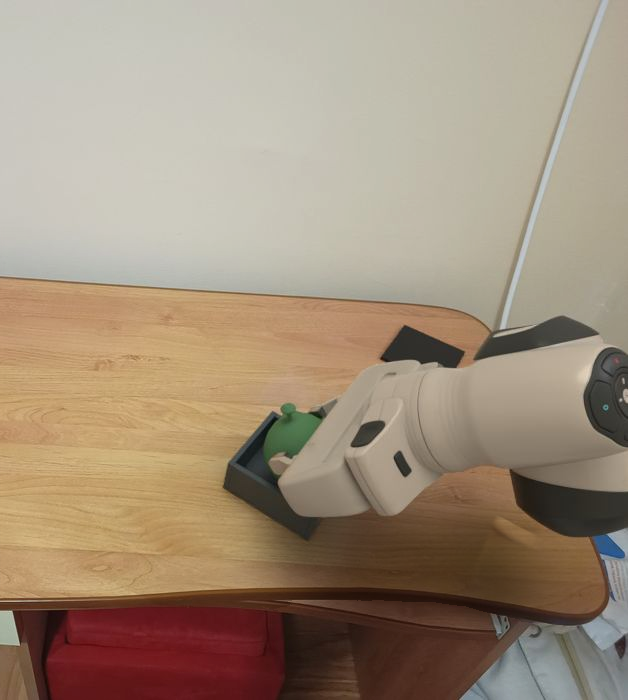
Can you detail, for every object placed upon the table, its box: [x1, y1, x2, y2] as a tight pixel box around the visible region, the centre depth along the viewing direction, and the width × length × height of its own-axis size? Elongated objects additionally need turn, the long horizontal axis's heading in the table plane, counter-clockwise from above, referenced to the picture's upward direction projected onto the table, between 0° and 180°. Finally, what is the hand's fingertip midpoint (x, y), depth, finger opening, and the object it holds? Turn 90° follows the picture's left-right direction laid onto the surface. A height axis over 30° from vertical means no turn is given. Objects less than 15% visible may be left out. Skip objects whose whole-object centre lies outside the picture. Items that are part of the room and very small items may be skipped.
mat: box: [379, 324, 466, 368], centre depth 88 cm, size 9×9×1 cm
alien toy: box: [264, 402, 325, 480], centre depth 66 cm, size 7×8×10 cm
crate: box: [222, 410, 325, 542], centre depth 69 cm, size 11×10×4 cm
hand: (293, 439), depth 65 cm, fingers closed on alien toy, 7 cm apart
